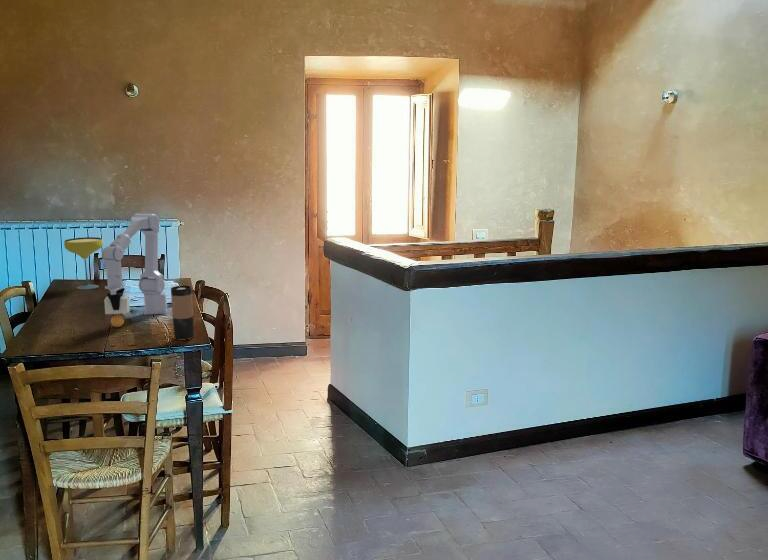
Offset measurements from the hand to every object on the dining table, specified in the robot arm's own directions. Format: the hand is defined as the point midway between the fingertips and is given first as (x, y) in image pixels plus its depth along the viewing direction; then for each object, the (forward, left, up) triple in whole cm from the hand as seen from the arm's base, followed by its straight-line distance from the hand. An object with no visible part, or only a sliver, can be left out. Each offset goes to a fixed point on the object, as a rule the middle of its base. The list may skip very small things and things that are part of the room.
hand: (117, 308), depth 286 cm
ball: (0, 0, -5) cm, 5 cm away
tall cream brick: (0, 0, -2) cm, 2 cm away
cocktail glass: (+26, -85, -8) cm, 89 cm away
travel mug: (-27, +24, -8) cm, 37 cm away
